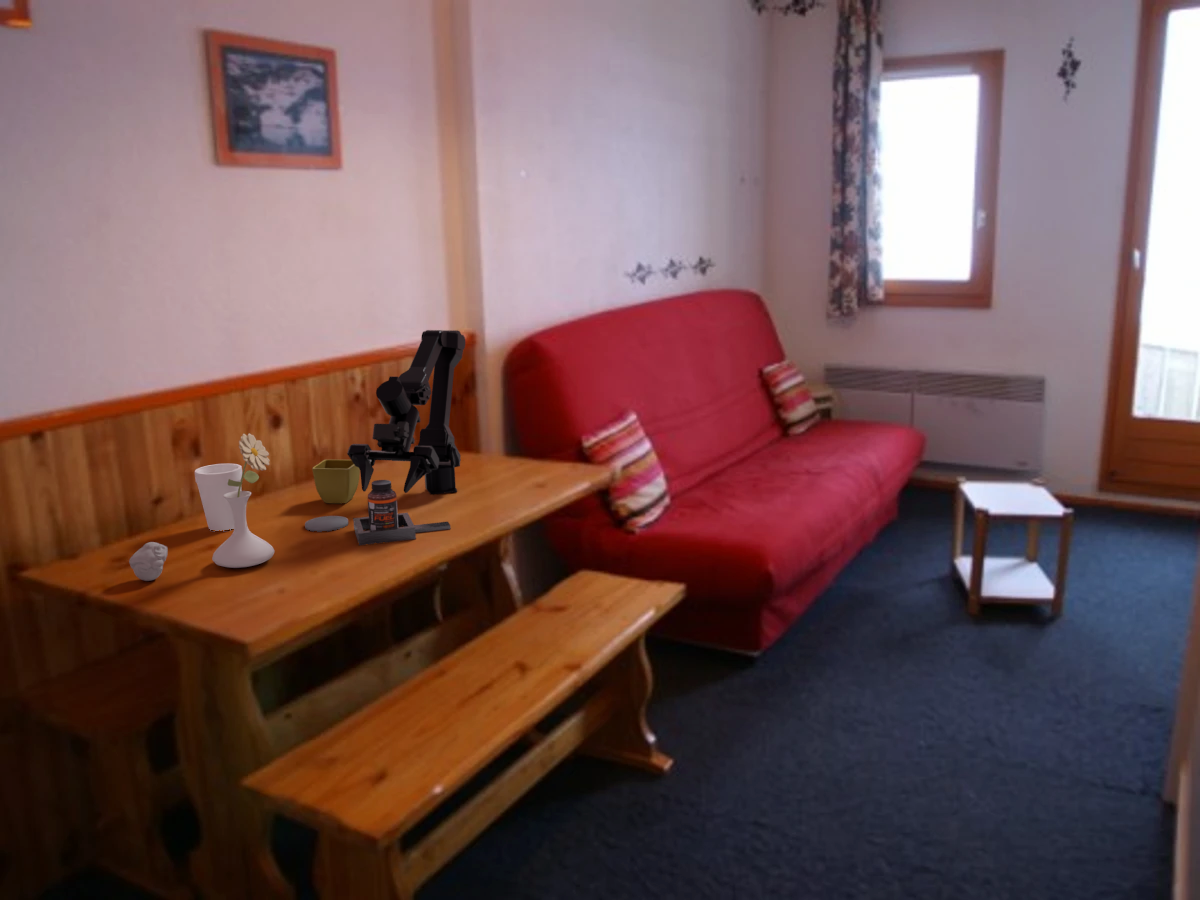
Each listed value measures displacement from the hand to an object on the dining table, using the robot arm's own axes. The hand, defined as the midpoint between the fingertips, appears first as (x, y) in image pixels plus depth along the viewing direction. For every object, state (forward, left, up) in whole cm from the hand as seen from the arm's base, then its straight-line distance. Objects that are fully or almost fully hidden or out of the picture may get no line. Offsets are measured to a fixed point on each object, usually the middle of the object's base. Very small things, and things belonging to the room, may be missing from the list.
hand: (384, 491), depth 215 cm
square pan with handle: (-3, +1, -9) cm, 10 cm away
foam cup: (+33, -17, -9) cm, 38 cm away
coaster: (+12, -10, -9) cm, 18 cm away
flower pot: (+8, -29, -9) cm, 31 cm away
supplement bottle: (+1, +1, -9) cm, 9 cm away
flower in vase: (+28, +9, -9) cm, 31 cm away
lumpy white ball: (+45, +13, -9) cm, 48 cm away
